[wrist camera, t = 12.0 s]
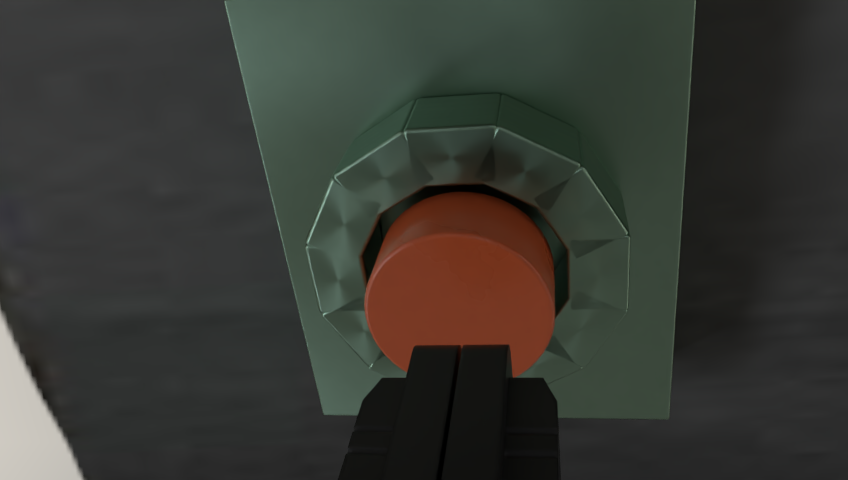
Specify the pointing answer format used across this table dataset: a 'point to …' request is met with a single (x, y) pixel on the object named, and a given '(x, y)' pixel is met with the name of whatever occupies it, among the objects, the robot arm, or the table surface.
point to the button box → (481, 166)
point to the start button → (462, 280)
